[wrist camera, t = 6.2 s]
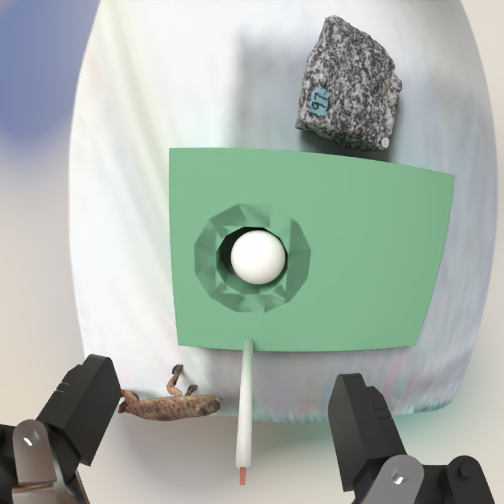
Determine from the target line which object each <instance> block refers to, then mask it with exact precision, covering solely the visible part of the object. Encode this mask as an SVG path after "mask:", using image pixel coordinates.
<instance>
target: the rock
mask: <svg viewBox="0 0 504 504" xmlns="http://www.w3.org/2000/svg"><path fill="white" fill-rule="evenodd" d="M394 69H395V64H394V62H393V60H392V59H391V58H390V56H389V55H388V53H387V52H386V50H385V49H384V48H383V47H382V46H381V45H380V44H379V43H378V42H376V41H375V40H373V39H372V38H371V37H370V35H368V34H367V33H365V32H362V31H360V30H358V29H357V28H355V27H353V26H351V25H350V23H347V22H346V21H344V20H343V19H342V18H339V17H337V16H336V15H334V16H330V17H328V18H325V22H324V26H323V30H322V32H321V34H320V37H319V39H318V42H317V43H316V45H315V47H314V50H312V52H311V54H310V55H309V56H308V59H307V66H306V71H305V73H304V78H303V83H302V90H301V93H300V99H299V110H298V118H297V121H296V124H295V128H296V129H300V130H309V131H314V132H316V133H317V134H318V136H320V137H321V138H325V139H330V140H331V141H332V140H333V141H334V143H336V144H338V145H339V146H343V147H346V148H349V149H355V150H358V151H385V150H386V149H387V147H388V145H389V141H390V138H391V134H392V131H393V126H394V118H395V114H396V109H397V102H398V99H399V95H398V93H399V92H400V91H401V90H402V81H401V80H399V79H398V78H397V76H396V75H395V73H394Z"/></svg>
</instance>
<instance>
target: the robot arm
mask: <svg viewBox="0 0 504 504" xmlns="http://www.w3.org/2000/svg"><path fill="white" fill-rule="evenodd" d="M56 389H57V390H56V391H55V392H54V393H53V394H52V396H51V398H50V399H49V400H48V402H47V403H46V405H45V407H44V408H43V409H42V411H41V413H40V414H39V416H38V417H37V418H36V420H33V419H29V420H25V421H22V422H21V423H19V424H18V425H17V426H16V427H15V426H9V425H2V424H0V504H90V503H89V500H88V497H87V495H86V492H85V490H84V487H83V484H82V481H81V478H80V475H79V472H78V470H77V467H78V464H79V463H82V464H84V465H87V466H91V463H92V461H93V458H94V456H95V454H96V451H97V449H98V447H99V445H100V442H101V440H102V438H103V436H104V433H105V431H106V429H107V427H108V424H109V422H110V420H111V418H112V416H113V413H114V411H115V409H116V407H117V405H118V403H119V400H120V396H121V388H120V384H119V381H118V378H117V375H116V372H115V369H114V365H113V362H112V360H111V358H109V357H104V356H99V355H95V354H90V355H89V356H88V357H87V359H86V360H85V361H84V363H83V365H77V366H76V367H74V368H73V369H71V370H70V371H68V373H67V374H66V376H65V377H64V378H63V380H62V383H60V384H59V386H58V387H57V388H56ZM328 417H329V422H330V427H331V431H332V436H333V441H334V446H335V451H336V455H337V460H338V465H339V470H340V476H341V481H342V486H343V491H344V492H346V491H353V490H354V493H355V499H354V501H353V502H352V504H495V503H494V500H493V497H492V494H491V491H490V489H489V486H488V483H487V481H486V479H485V476H484V473H483V471H482V468H481V466H480V464H479V463H478V461H477V460H475V459H474V458H472V457H470V456H465V455H464V456H458V457H456V458H455V459H453V460H452V461H451V462H450V463H449V464H448V465H422V464H421V463H420V462H419V461H418V460H417V459H416V458H414V457H412V456H409V455H407V453H406V451H405V449H404V446H403V444H402V441H401V438H400V436H399V433H398V431H397V428H396V426H395V424H394V421H393V419H392V418H391V413H390V411H389V409H388V406H387V404H386V402H385V399H384V397H383V395H382V394H381V393H380V392H379V391H378V390H377V389H376V388H375V387H374V386H370V387H366V385H365V382H364V380H363V377H362V375H361V374H360V373H354V374H339V375H338V376H337V379H336V382H335V386H334V389H333V392H332V395H331V398H330V401H329V406H328Z"/></svg>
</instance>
